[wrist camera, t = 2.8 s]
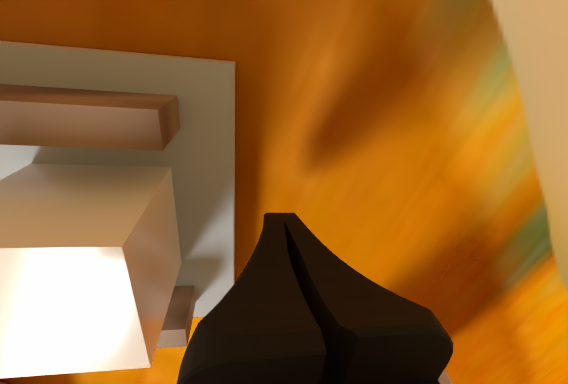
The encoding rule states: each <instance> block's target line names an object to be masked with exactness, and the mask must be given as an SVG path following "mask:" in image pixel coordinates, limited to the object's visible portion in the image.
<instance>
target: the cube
mask: <svg viewBox="0 0 568 384" xmlns="http://www.w3.org/2000/svg"><path fill="white" fill-rule="evenodd" d="M181 262H182V261H181V252H180V244H179V235H178V226H177V217H176V209H175V200H174V191H173V182H172V174H171V167H144V166H110V165H76V164H43V163H31V164H29V165H27V166H25V167H23V168H22V169H20V170H18V171H16V172H14V173H13V174H11V175H9V176H7V177H5V178H3V179H2V180H0V378H14V377H27V376H41V375H54V374H68V373H81V372H95V371H108V370H122V369H135V368H148V367H151V364H152V361H153V357H154V354H155V350H156V347H157V344H158V340H159V337H160V333H161V330H162V327H163V323H164V320H165V317H166V313H167V310H168V306H169V303H170V300H171V296H172V293H173V289H174V286H175V283H176V279H177V276H178V272H179V269H180V266H181Z"/></svg>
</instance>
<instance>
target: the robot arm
mask: <svg viewBox="0 0 568 384" xmlns="http://www.w3.org/2000/svg"><path fill="white" fill-rule="evenodd" d="M452 353H453V342H452V340H451V339H450V337H449V335H448V334H447V332H446V331H445V330H444V328H443V327H442V325H441V324H440V322H439V321H438V320H437V318H436V317H435V316H434V314H433V313H432V312H431V310H429V309H427V308H425V307H423V306H420V305H418V304H416V303H414V302H412V301H409V300H407V299H405V298H403V297H400V296H398V295H396V294H395V293H393V292H391V291H389V290H387V289H385V288H383V287H381V286H380V285H378V284H376V283H374V282H373V281H371V280H369V279H368V278H366V277H365V276H363V275H362V274H360V273H358V272H357V271H356V270H354V269H353V268H351V267H350V266H349V265H347V264H346V263H345V262H343V261H342V260H341V259H339V258H338V257H337V256H336V255H335V254H333V253H332V252H331V251H330V250H329V249H328V248H327V247H326V246H324V245H323V244H322V243H321V242H320V241H319V240H318V239H317V238H316V237H315V235H314V234H313V233H312V232H311V231H310V230H309V229H308V228H307V227H306V226H305V224H304V223H303V222H302V221H301V220H300V219H299V217H298V216H297V215H296V214H295V213H266V214H265V215H264V221H263V229H262V232H261V235H260V238H259V241H258V244H257V246H256V248H255V250H254V252H253V254H252V256H251V258H250V260H249V262H248V264H247V265H246V267H245V269H244V270H243V272H242V273H241V275H240V276H239V278H238V279H237V281H236V282H235V283H234V285H233V286H232V287H231V289H230V290H229V291H228V292H227V293H226V294H225V296H224V297H223V298H222V299H221V300H220V302H219V303H218V304H217V305H216V306H215V307H214V308H213V309H212V310H211V311H210V312H209V313H208V314H207V315H206V316H205V317H204V318H203V319H202V320H201V321H200V322H199V323H198V325H197V327H196V329H195V331H194V333H193V335H192V337H191V339H190V342H189V344H188V346H187V349H186V351H185V354H184V357H183V360H182V363H181V366H180V371H179V376H178V381H177V384H453V382H452V381H451V379H450V378H449V376H448V374H447V373H446V371H445V367H446V366H447V364H448V362H449V360H450V358H451V356H452Z"/></svg>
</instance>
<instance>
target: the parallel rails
mask: <svg viewBox="0 0 568 384" xmlns="http://www.w3.org/2000/svg"><path fill="white" fill-rule="evenodd" d="M179 130H180V121H179V110H178V99H177V96H174V95H159V94H144V93H129V92H114V91H99V90H84V89H70V88H55V87H40V86H25V85H10V84H0V145H24V146H50V147H76V148H103V149H129V150H155V151H163V150H164V149H165V147H166V146H167V145H168V144H169V142H170V141H171V140H172V138H173V137H174V136H175V135H176V133H177V132H178V131H179ZM195 303H196V298H195V287H194V285H192V286H174V289H173V293H172V296H171V300H170V303H169V306H168V310H167V313H166V317H165V320H164V323H163V327H162V330H161V333H160V337H159V340H158V344H157V347H156V348H168V347H183V346H187V345H188V339H189V334H190V329H191V324H192V319H193V314H194V308H195Z"/></svg>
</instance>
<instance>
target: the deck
mask: <svg viewBox="0 0 568 384" xmlns="http://www.w3.org/2000/svg"><path fill="white" fill-rule="evenodd" d="M0 84H10V85H25V86H40V87H55V88H70V89H84V90H99V91H114V92H129V93H144V94H159V95H174V96H177V99H178V110H179V121H180V130H179V131H178V132H177V133H176V135H175V136H174V137H173V138H172V140H171V141H170V142H169V144H168V145H167V146H166V147H165V149H164V150H163V151H155V150H129V149H103V148H76V147H50V146H24V145H0V180H2V179H3V178H5V177H7V176H9V175H11V174H13V173H14V172H16V171H18V170H20V169H22V168H23V167H25V166H27V165H29V164H31V163H43V164H76V165H110V166H144V167H171V174H172V182H173V191H174V200H175V209H176V217H177V226H178V235H179V244H180V252H181V261H182V262H181V266H180V269H179V272H178V276H177V279H176V283H175V286H192V285H194V287H195V298H196V303H195V308H194V314H193V317H199V316H206V315H207V314H208V313H209V312H210V311H211V310H212V309H213V308H214V307H215V306H216V305H217V304H218V303H219V302H220V300H221V299H222V298H223V297H224V296H225V294H226V293H227V292H228V291H229V290H230V289H231V287H232V286H233V285H234V283H235V61H227V60H216V59H205V58H193V57H182V56H170V55H159V54H148V53H136V52H125V51H114V50H102V49H91V48H80V47H68V46H57V45H45V44H34V43H23V42H11V41H0Z"/></svg>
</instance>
